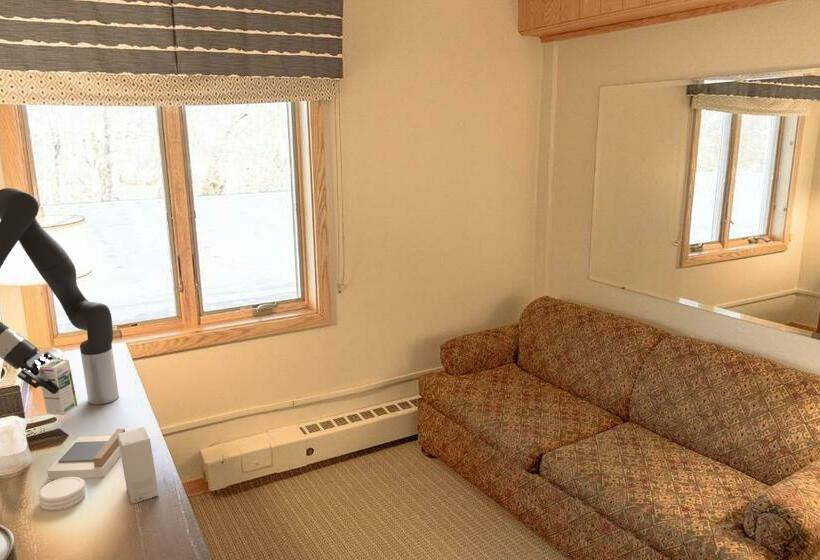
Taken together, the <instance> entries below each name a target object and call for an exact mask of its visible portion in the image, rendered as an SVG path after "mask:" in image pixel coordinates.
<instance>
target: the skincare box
mask: <svg viewBox="0 0 820 560" xmlns="http://www.w3.org/2000/svg"><path fill="white" fill-rule="evenodd" d="M117 435H118V442H119V447H120V453H121V456H120V458H121V463H122V470H123V474H124V475H123V476H124V481H125V485H126V491H127V494H128V497H129V499H130V501H131V502H130V503H131V504H137V503H140V501H141V502H143V500H144V501H146V499H147V500H150V499H153V498H155V496H156V497H159V495H160V494H159V488H158V482H157V480H158V479H157V476H156V475H157V474H156V468H155V463H154V455H153V451H152V450H153V449H152V443H151V438H150V436H149V434H148V432H147V430H146V428H145V427H144V426H141V427H138V428H135V429H131V430H127V431H126V430H125V432H123V433H119V434H117ZM152 497H153V498H152ZM149 498H150V499H149Z"/></svg>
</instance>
